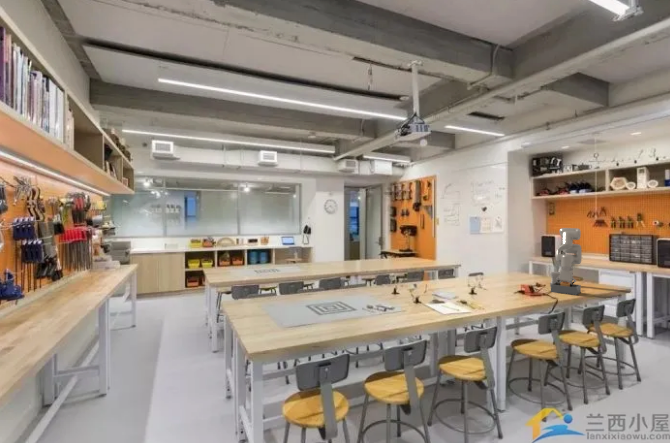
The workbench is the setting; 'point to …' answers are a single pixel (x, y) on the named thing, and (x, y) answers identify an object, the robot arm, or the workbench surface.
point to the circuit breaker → (554, 276)
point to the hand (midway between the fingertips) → (565, 287)
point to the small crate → (565, 284)
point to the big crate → (566, 289)
